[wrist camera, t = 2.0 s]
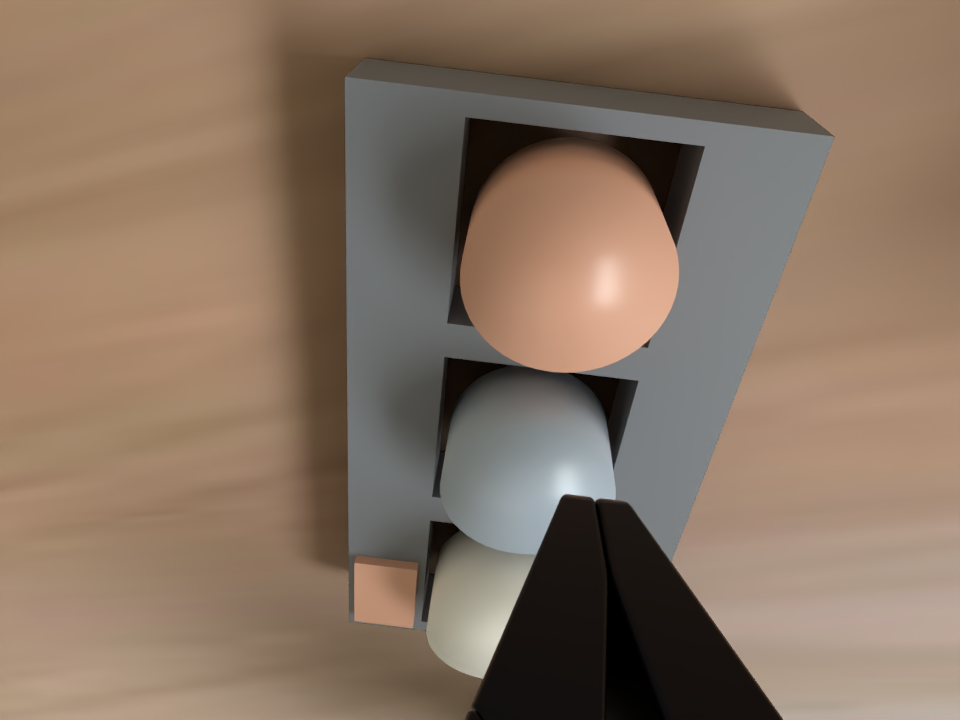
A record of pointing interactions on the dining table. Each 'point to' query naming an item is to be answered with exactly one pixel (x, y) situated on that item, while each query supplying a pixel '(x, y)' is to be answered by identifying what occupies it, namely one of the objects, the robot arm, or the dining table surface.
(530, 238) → the terracotta button
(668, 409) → the button panel
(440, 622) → the cream button
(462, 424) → the slate button
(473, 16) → the dining table surface
